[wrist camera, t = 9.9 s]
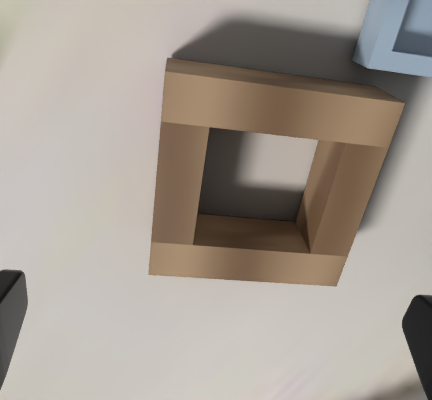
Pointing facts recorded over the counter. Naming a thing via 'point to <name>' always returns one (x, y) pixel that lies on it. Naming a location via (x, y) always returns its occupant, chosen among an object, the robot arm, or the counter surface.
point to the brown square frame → (277, 125)
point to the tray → (397, 37)
